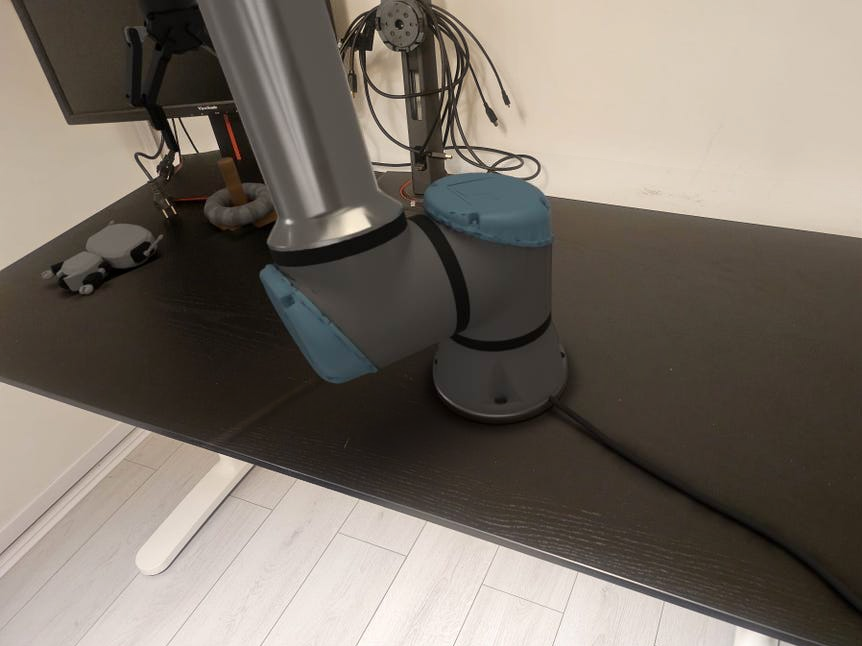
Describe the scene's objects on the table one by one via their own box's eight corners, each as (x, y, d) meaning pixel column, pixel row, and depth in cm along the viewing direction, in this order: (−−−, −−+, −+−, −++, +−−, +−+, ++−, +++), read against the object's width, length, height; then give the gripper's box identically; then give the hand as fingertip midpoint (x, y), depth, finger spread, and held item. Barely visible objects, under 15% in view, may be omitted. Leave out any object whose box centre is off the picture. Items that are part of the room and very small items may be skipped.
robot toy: (96, 311, 88) (177, 253, 97) (78, 286, 85) (163, 229, 93) (47, 291, 93) (128, 238, 102) (28, 267, 90) (113, 214, 98)
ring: (291, 208, 103) (286, 192, 101) (228, 236, 97) (222, 219, 95) (257, 190, 109) (252, 174, 107) (196, 215, 104) (189, 198, 102)
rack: (282, 217, 104) (264, 157, 97) (235, 238, 99) (211, 177, 93) (256, 202, 109) (236, 144, 102) (209, 222, 105) (186, 163, 98)
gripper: (230, -43, 89) (274, 107, 103) (49, -8, 77) (126, 157, 90) (256, -41, 85) (298, 115, 98) (68, -3, 72) (146, 169, 86)
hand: (216, 135), depth 94 cm, fingers open, 13 cm apart
